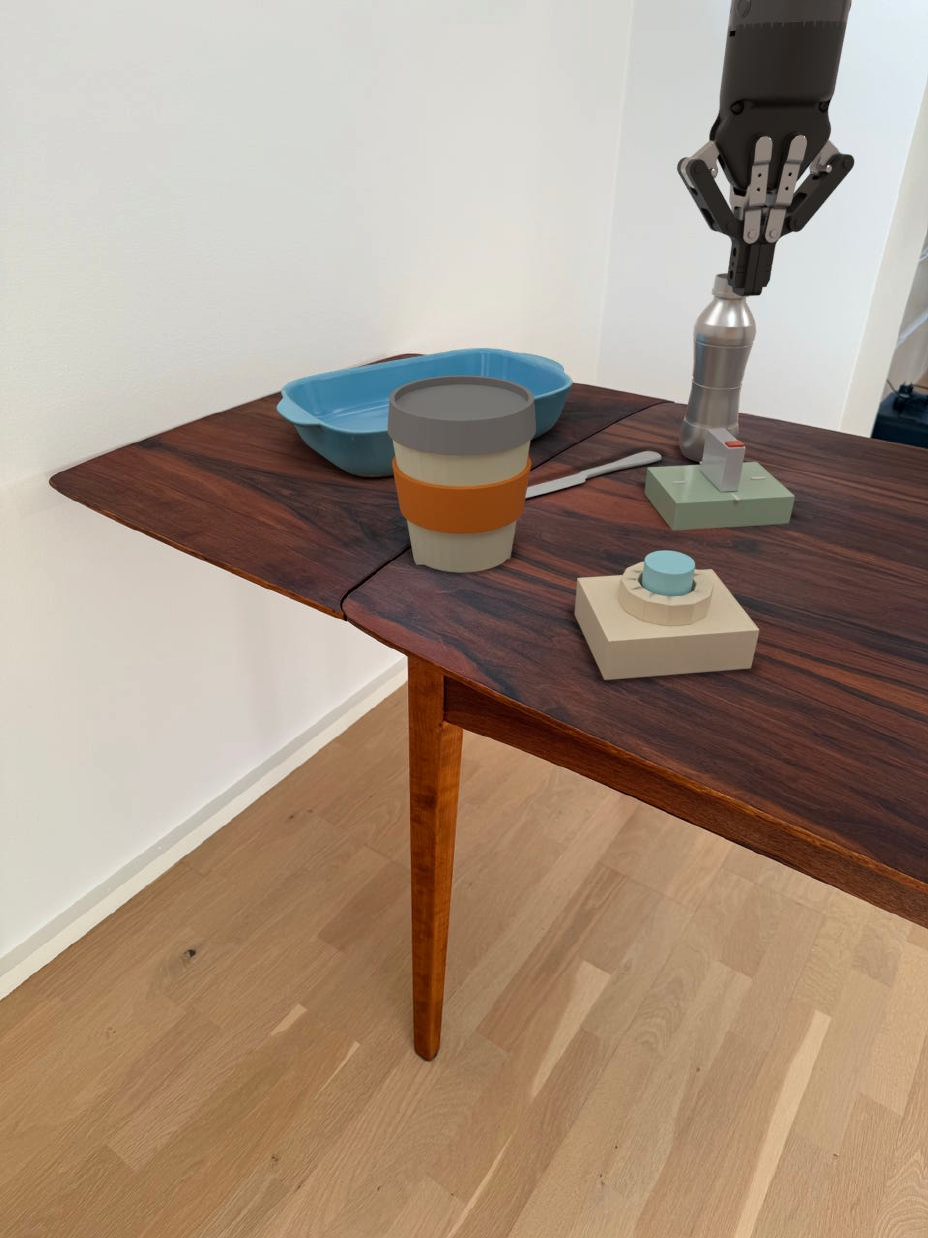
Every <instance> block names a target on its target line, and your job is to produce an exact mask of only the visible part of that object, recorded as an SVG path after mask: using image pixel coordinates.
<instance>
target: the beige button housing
mask: <svg viewBox="0 0 928 1238" xmlns="http://www.w3.org/2000/svg"><path fill="white" fill-rule="evenodd" d="M643 568H644V561H640V562H638V563H636V564H633V565H631V566H628V567H626V568H625V570H624V572H623V574H617V575H604V576H590V577H589V576H588V577H577V580H576V591H575V604H574V616H575V618H576V621H577V623H578V625H579V628H580V630H581V632H582V634H583V636H584V638H585V641H586V643H587V645H588V647H589V650H590V651H591V654H592V656H593V658H594V661H595V663H596V665H597V667H598V670H599V671H600V673H601V677H602V678H603V680H604V681H609V680H621V679H634V678H646V677H648V678H649V677H659V676H660V677H661V676H673V675H682V674H683V675H684V674H685V675H686V674H696V673H697V674H698V673H708V672H709V673H710V672H721V671H735V670H747V669H752V666H753V661H754V656H755V652H756V648H757V643H758V637H759V633H760V629H759V628H758V626H757V625H756V623H755V622H754V621H753V619H752V618H751V617H750V615H748V613H747V612H746V611H745V610H744V608H743V606H742V605H740V603H739V601H738V600H737V599H736V598H735V597H734V595H733V594H732V593H731V591H730V590H729V589H728V588H727V586H726V585H725V584H724V582H723V581H722V580H721V578H720V577H719V576H718V575H717V574H716V572H715V571H714V570H713V568H709V569H708V568H707V569H697V568H695V570H694V576H693V582H692V588H691V591H690V593H688V594H686V595H684V596H672V597H669V596H663V595H658V594H653V593H651V592H650V591H648V590H646V589H644V588H643V587H642V576H643Z"/></svg>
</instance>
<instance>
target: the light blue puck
mask: <svg viewBox="0 0 928 1238" xmlns="http://www.w3.org/2000/svg"><path fill="white" fill-rule="evenodd" d="M643 562H644V568H643V576H642V587H643V588H644V589H646V590H648V591H650V592H651V593H653V594H658V595H663V596H669V597H672V596H684V595H686V594H688V593H690V591H691V588H692V582H693V576H694V570H695V569H696V562H695V560H694V559H693V558H692V557H691V556H689V555H687V554H685V553H683V552H679V551H676V550H666V549H665V550H664V549H663V550H655V551H652V552H649V553H648V554H647V555H646V556H645V557H644V561H643Z"/></svg>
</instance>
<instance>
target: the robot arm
mask: <svg viewBox="0 0 928 1238" xmlns="http://www.w3.org/2000/svg"><path fill="white" fill-rule="evenodd" d="M852 1H853V0H730V8H729V16H728V24H727V32H726V40H725V47H724V48H725V49H724V56H723V65H722V73H721V81H720V89H719V108H718V113H717V116H716V118H715V120H714V122H713V124H712V126H711V127H710V129H709V133H708V134H709V135H708V141H707V142H706V143H705V144H704V145H703V146H701V147H700V148H699V149H698V150H697V151H696V152H695V153H694V154H692V155H691V156H690V157H688V156H685V157H682V158H680V159H679V160H678V163H677V165H676V171H677V173H678V175H679V177H680V179H681V181H682V182H683V184H684V186H685V187H686V189H687V191H688V192H689V193H688V194H689V195H690V196H691V198H692V199H693V201H694V204H695V205H696V207H697V208H698V210H699V212H700V214H701V215H702V217H703V219H704V221H705V222H706V224H707V225H708V226H707V227H709V230H711V231H713V232H715V233H716V232H717V233H720V234H723V235H725V236H727V237H728V238H729V239H730V242H731V247H730V253H729V260H728V268H727V273H728V274H727V281H728V285H730V286H732V291H733V293H735V294H737V295H739V296H749V297H758V296H761V295H762V293H763V288H767V286H768V285H769V282H770V281H771V276H772V270H773V264H774V258H775V252H776V251H775V250H776V245H777V243H778V241H779V240H780V239H781V238H782V237H785V236H786V235H789V234H791V233H798V232H801V231H802V230H803V229H804V228H805V227H806V225H807V224H808V223H809V222H810V220H812V219H813V217H814V216H815V214H816V213H817V212H818V211H819V210H820V209H821V207H822V206H823V205H824V203H826V201H827V200H828V199H829V198H830V196H831V195H832V194H833V193H834V192H835V190H836V189H837V188H838V187H839V186H840V184H841V183H842V182H843V181H844V179H845V178H846V177H847V176H848V175H849V173H850V172H851V171H852V170H853V169H854V166H855V158H854V155H852V154H849V153H842V152H841V151H840V150H839V148H838V147H837V146H836V145H835V144H834V142H832V140H830V137H831V134H832V124H831V121H830V115H829V108H830V104H831V102H832V100H833V97H834V95H835V91H836V85H837V80H838V76H839V75H838V74H839V70H840V63H841V58H842V53H843V47H844V42H845V36H846V30H847V25H848V20H849V16H850V15H849V14H850V11H851V8H852ZM717 163H719V166H720V168H721V170H722V172H723V174H724V177H725V178H726V180H727V182H728V184H729V197H728V198H729V199H728V200H729V203H728V202H727V200H726V198H725V196H724V194H723V192H722V191H721V189H720V187H719V185H718V183H717V182H716V180H715V179H716V178H717V176H718V174H719V167H718V164H717ZM808 169H809V174H808V175H807V177H806V178H805V179H804V180H803V181H802V182H801V183H800V185H798V188H797V189H796V187H797V182H798V181H799V180H800V179H801V178H802V176H803V175H804V173H806V171H807V170H808ZM729 205H730V206H729Z"/></svg>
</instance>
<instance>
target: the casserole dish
mask: <svg viewBox="0 0 928 1238" xmlns="http://www.w3.org/2000/svg"><path fill="white" fill-rule="evenodd" d="M455 375H469V376H484V377H492V378H499V379H504V380H508V381H512V382H514V383H517V384H520V385H522V386H524V387H526V388H527V389H529V390H530V391H531V392H532V394H533V396H534V406H535V422H536V432H535V435H534V436H533V438H532V439H531V440H530V441H533V440H535V439H537V438H539V437H541V436H542V435H543V434H545V433H547V432H548V431H550V430H551V429H552V428H553V427H554V426H555V424H556V423H557V422H558V420H559V419H560V417H561V414H562V413H563V409H564V407H565V404H566V402H567V400H568V399H567V398H568V396H569V393H570V390H571V388H572V387H573V383H574V382H573V379H572V378H571V376H570V375H569V374H567V373H566V372H565V368H564V365H562V364H561V363H559V362H558V361H555V360H553V359H551V358H548V357H545V356H542V355H538V354H533V353H526V352H518V351H511V350H508V349H501V348H493V347H492V348H491V347H490V348H489V347H472V348H471V347H470V348H464V349H463V348H461V349H453V350H448V351H442V352H441V351H440V352H435V353H431V354H430V353H429V354H423V355H418V356H413V357H406V358H402V359H395V360H390V361H385V362H384V361H383V362H378V363H372V364H367V365H360V366H355V367H349V368H343V369H338V370H333V371H329V372H322V373H317V374H313V375H308V376H304V377H301V378H297V379H294V380H292V381H290V382H288V383H286V384H284V385H283V387H282V388H281V390H280V394H281V397H282V399H280V401H279V402H278V404H277V405H276V411H277V413H278V415H280V416H281V417H282V418H283V419H284V420H285V421H286V422H289V423H290V424H292V425H294V428H295V430H296V432H297V434H298V435H299V437H300V438H301V440H302V441H303V442H304V443H305V444H306V445H307V446H308V447H310V448H311V449H312V450H313V451H315V452H316V453H318V454H319V455H321V456H322V458H324V459H326V460H327V461H328V462H330V463H331V464H333V465H334V466H336V467H337V468H339V469H341V470H343V471H345V472H346V473H347V474H350V475H354V476H357V477H361V478H362V477H363V478H382V477H383V478H384V477H392V476H394V472H393V466H392V461H393V458H394V456H395V450H394V445H393V439H391V438H390V436H389V434H388V412H389V396H390V394H391V393H392V391H394V390H395V389H396V388H398V387H400V386H402V385H404V384H406V383H409V382H412V381H416V380H421V379H425V378H432V377H440V376H455Z"/></svg>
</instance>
